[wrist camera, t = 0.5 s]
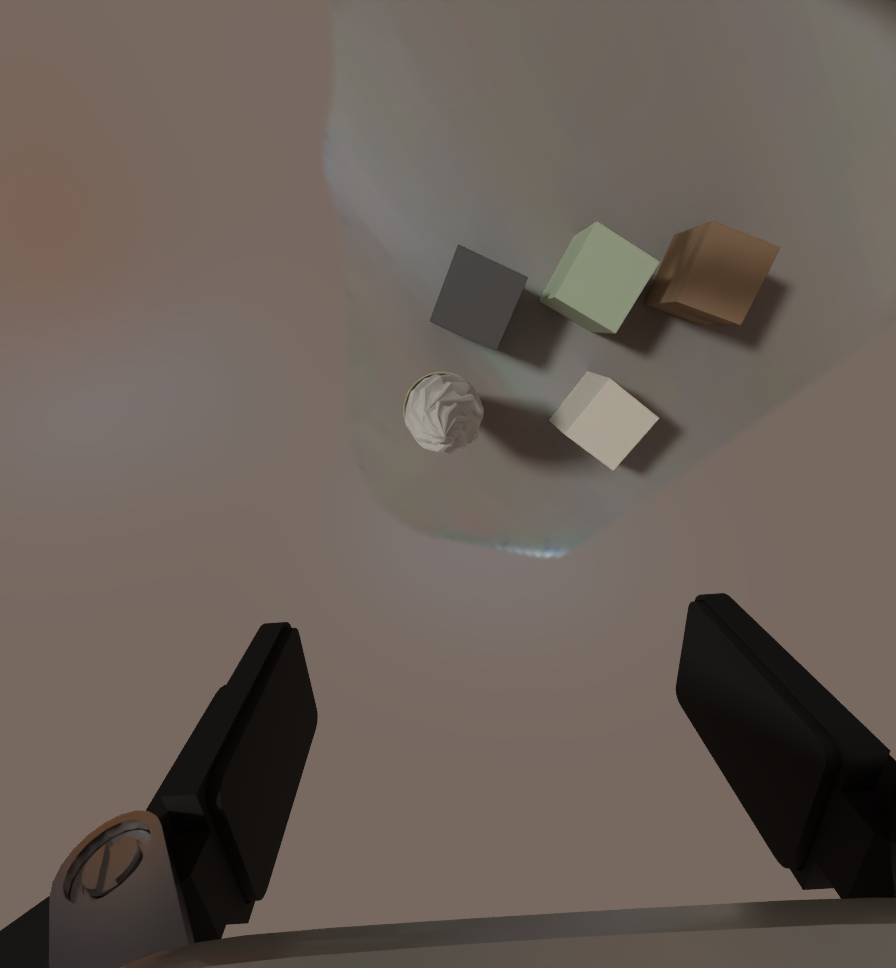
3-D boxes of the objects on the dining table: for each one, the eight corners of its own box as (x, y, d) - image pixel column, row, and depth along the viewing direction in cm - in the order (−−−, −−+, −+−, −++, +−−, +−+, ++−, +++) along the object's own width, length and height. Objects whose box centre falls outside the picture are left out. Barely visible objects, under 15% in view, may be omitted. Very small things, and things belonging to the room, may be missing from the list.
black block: (455, 255, 33) (458, 244, 28) (515, 283, 33) (528, 277, 29) (430, 321, 34) (429, 321, 29) (488, 347, 35) (496, 350, 30)
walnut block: (673, 235, 32) (713, 220, 28) (732, 258, 33) (780, 247, 28) (643, 304, 34) (676, 301, 29) (699, 324, 35) (740, 325, 30)
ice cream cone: (481, 405, 36) (509, 458, 22) (428, 432, 37) (422, 499, 23) (455, 350, 35) (466, 367, 21) (399, 379, 35) (374, 415, 21)
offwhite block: (587, 371, 36) (609, 378, 31) (631, 406, 37) (659, 418, 32) (548, 420, 37) (564, 434, 32) (591, 452, 38) (613, 470, 33)
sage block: (573, 236, 32) (596, 221, 28) (628, 270, 33) (659, 261, 28) (538, 301, 34) (554, 297, 29) (591, 332, 35) (615, 333, 30)
